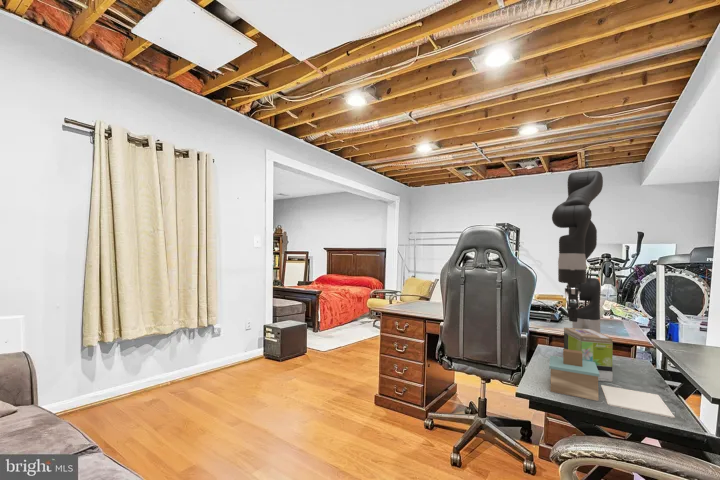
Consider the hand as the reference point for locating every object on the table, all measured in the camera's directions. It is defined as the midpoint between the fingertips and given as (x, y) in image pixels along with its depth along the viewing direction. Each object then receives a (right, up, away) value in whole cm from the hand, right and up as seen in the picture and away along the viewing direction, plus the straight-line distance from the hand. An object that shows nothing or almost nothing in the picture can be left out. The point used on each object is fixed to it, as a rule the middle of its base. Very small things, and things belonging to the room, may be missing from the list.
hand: (572, 319), depth 105 cm
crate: (0, -22, -1) cm, 22 cm away
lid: (0, -16, -1) cm, 16 cm away
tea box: (+14, -23, +14) cm, 30 cm away
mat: (+13, -22, -8) cm, 26 cm away
